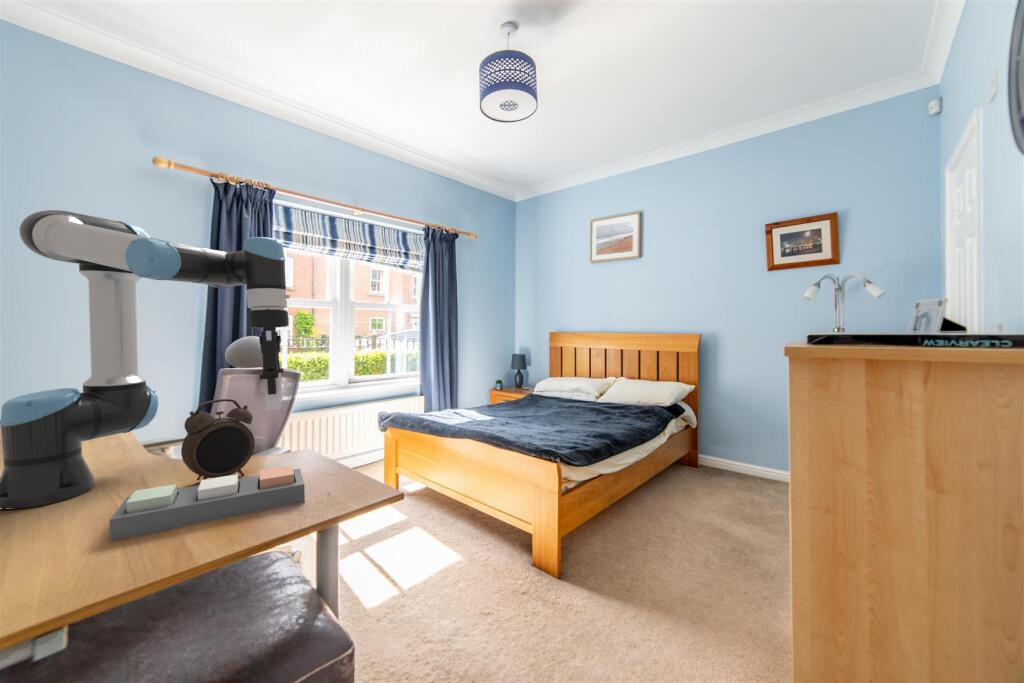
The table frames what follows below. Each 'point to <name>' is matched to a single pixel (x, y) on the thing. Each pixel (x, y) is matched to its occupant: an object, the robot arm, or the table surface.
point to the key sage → (152, 498)
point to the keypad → (205, 507)
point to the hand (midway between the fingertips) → (274, 405)
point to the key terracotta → (276, 477)
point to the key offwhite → (218, 487)
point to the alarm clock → (217, 442)
